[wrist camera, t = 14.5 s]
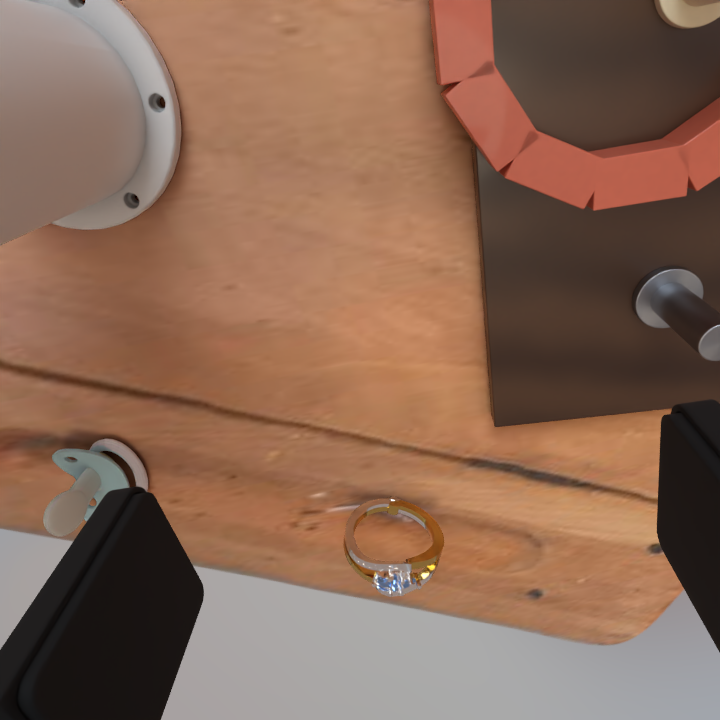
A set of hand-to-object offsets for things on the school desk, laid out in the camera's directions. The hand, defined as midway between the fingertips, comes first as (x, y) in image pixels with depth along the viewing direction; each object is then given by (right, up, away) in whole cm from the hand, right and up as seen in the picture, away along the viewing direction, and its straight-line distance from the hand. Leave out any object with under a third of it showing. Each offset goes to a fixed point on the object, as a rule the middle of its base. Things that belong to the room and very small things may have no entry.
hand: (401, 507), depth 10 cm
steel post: (+17, +6, +20) cm, 27 cm away
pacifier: (-20, -6, +32) cm, 38 cm away
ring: (+2, -8, +31) cm, 32 cm away
